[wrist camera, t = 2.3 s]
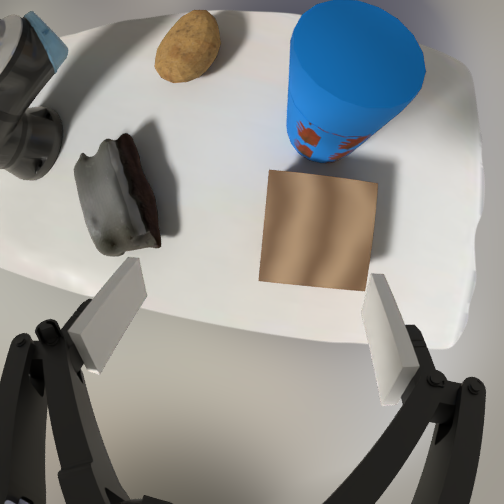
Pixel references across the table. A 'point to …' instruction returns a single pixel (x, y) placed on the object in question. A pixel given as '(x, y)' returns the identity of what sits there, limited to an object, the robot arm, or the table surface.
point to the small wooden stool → (317, 230)
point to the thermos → (348, 77)
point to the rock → (117, 198)
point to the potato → (188, 47)
